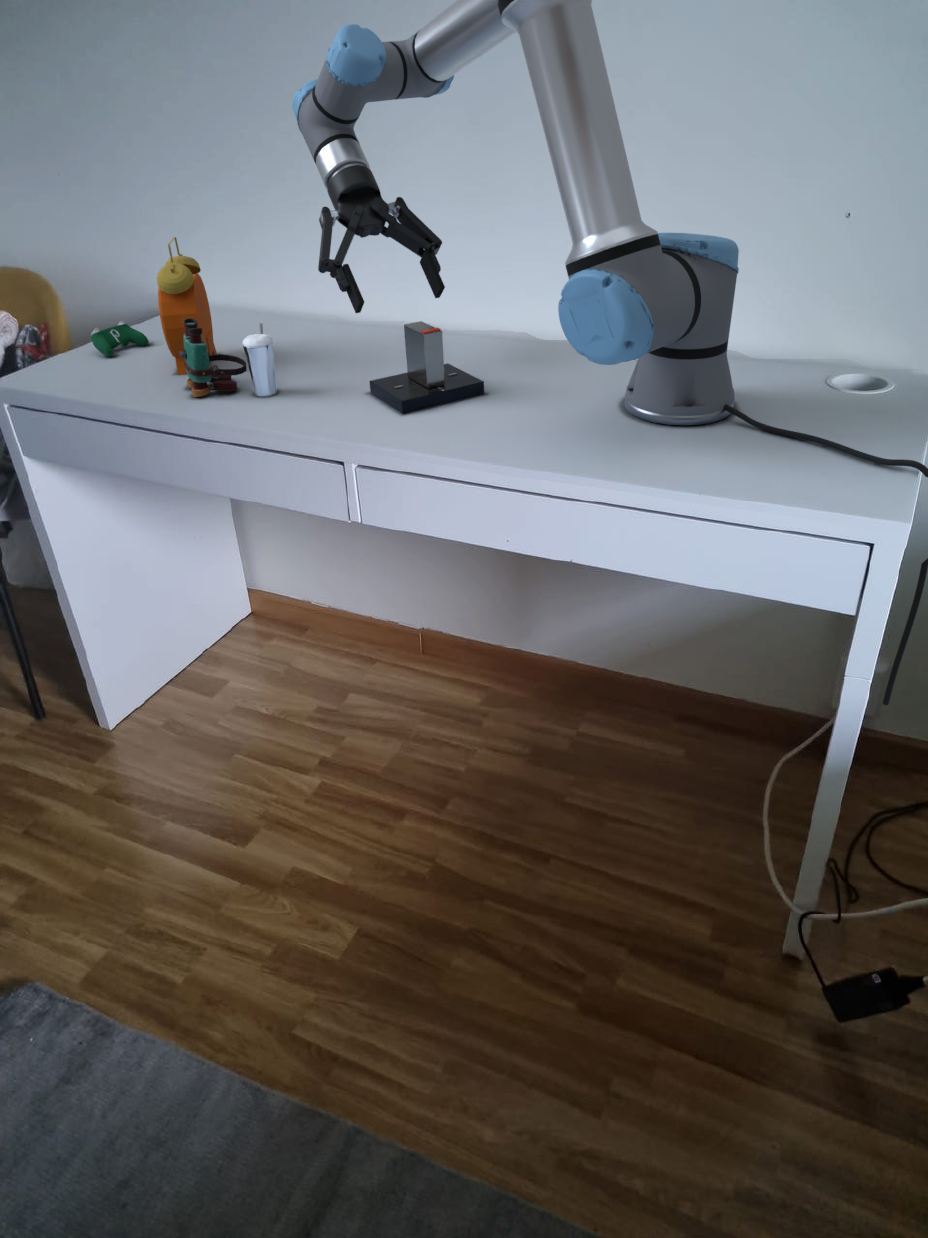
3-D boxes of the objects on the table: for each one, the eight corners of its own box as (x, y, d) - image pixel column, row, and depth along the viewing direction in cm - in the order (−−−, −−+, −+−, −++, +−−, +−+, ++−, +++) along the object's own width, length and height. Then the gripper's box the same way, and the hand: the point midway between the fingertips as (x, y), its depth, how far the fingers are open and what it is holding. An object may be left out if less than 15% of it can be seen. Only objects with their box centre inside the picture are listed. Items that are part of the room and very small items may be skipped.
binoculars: (247, 327, 136) (180, 330, 132) (252, 396, 141) (187, 400, 138) (236, 314, 143) (171, 316, 139) (241, 379, 148) (179, 383, 144)
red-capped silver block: (407, 376, 137) (403, 322, 133) (424, 373, 139) (421, 319, 134) (427, 388, 133) (423, 332, 128) (445, 384, 134) (442, 329, 129)
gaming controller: (145, 352, 166) (125, 327, 166) (151, 340, 164) (131, 313, 163) (103, 366, 160) (83, 340, 160) (108, 353, 157) (87, 326, 157)
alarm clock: (184, 353, 159) (158, 233, 148) (219, 350, 159) (196, 231, 148) (172, 377, 148) (143, 249, 137) (209, 374, 148) (184, 247, 137)
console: (448, 375, 144) (448, 361, 142) (484, 394, 135) (484, 380, 134) (370, 393, 138) (369, 379, 137) (402, 414, 130) (401, 399, 129)
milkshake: (285, 386, 142) (275, 322, 137) (276, 398, 138) (265, 332, 132) (257, 386, 143) (246, 323, 137) (247, 398, 138) (236, 333, 133)
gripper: (413, 187, 145) (463, 300, 143) (268, 206, 135) (319, 328, 133) (427, 154, 139) (480, 272, 136) (275, 171, 129) (329, 299, 126)
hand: (401, 300), depth 134 cm, fingers open, 13 cm apart
